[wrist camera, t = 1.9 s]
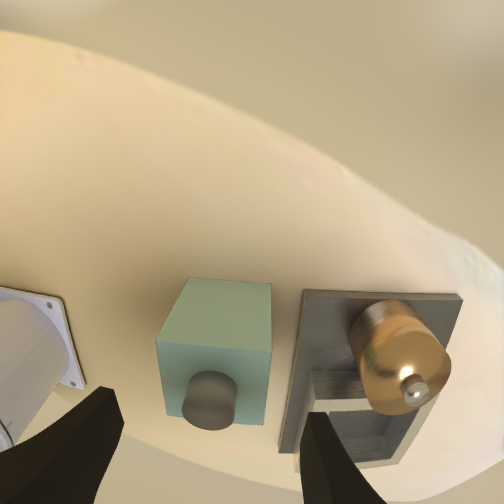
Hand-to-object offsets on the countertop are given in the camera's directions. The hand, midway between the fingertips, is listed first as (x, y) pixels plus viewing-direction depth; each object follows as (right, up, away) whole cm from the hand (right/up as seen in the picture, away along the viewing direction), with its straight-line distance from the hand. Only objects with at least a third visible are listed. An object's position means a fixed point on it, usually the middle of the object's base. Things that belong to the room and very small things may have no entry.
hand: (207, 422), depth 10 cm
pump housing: (0, +3, +7) cm, 8 cm away
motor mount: (+9, -3, +9) cm, 13 cm away
